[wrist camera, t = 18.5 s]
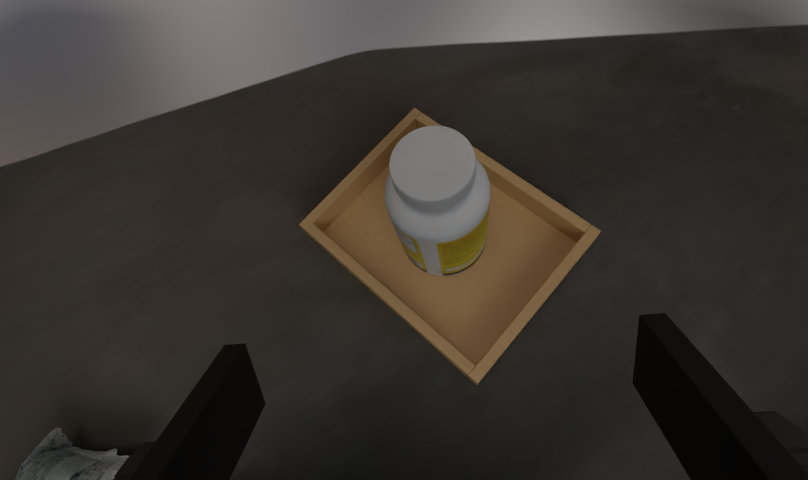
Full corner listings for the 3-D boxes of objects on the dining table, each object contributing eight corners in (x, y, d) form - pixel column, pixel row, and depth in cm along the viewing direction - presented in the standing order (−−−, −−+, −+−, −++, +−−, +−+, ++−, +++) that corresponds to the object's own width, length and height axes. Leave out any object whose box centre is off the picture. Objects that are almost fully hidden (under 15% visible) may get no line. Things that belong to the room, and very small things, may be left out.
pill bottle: (501, 225, 33) (517, 140, 23) (458, 294, 32) (453, 239, 21) (430, 188, 35) (415, 94, 24) (386, 252, 34) (349, 181, 23)
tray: (310, 237, 36) (298, 224, 33) (417, 127, 38) (414, 107, 36) (476, 385, 30) (477, 384, 27) (590, 244, 32) (601, 230, 30)
